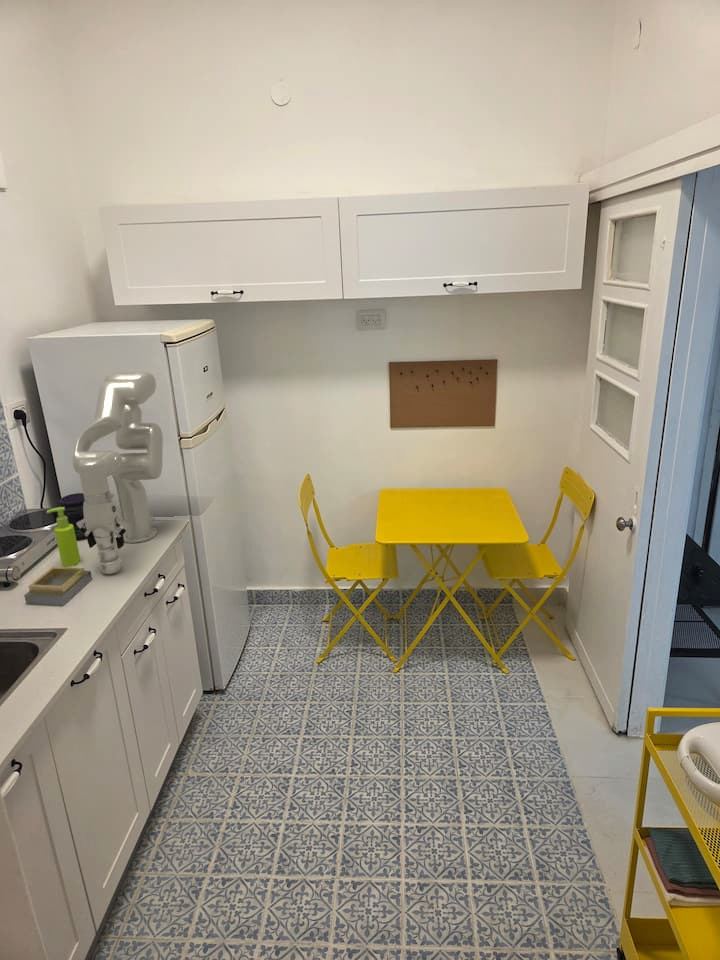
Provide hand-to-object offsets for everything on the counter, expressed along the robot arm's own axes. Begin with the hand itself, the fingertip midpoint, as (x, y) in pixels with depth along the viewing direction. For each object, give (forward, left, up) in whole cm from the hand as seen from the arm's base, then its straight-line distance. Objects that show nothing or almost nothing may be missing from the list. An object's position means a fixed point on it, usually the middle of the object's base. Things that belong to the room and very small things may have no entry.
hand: (106, 546), depth 201 cm
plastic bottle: (0, 0, -9) cm, 9 cm away
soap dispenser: (-5, -18, -9) cm, 21 cm away
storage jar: (-26, -26, -9) cm, 38 cm away
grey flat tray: (+13, -10, -9) cm, 19 cm away
